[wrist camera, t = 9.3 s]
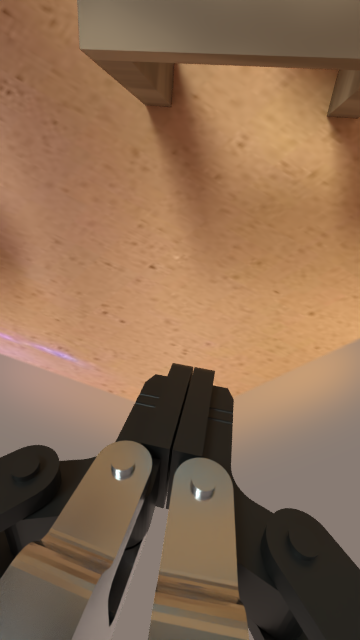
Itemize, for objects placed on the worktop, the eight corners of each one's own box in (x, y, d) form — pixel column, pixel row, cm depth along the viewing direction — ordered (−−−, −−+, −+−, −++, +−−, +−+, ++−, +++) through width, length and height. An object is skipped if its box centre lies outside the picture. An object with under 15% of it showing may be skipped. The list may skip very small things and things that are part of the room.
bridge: (146, 53, 20) (74, -49, 11) (374, 61, 18) (496, -56, 9) (145, 105, 21) (79, 48, 13) (357, 118, 19) (451, 62, 11)
